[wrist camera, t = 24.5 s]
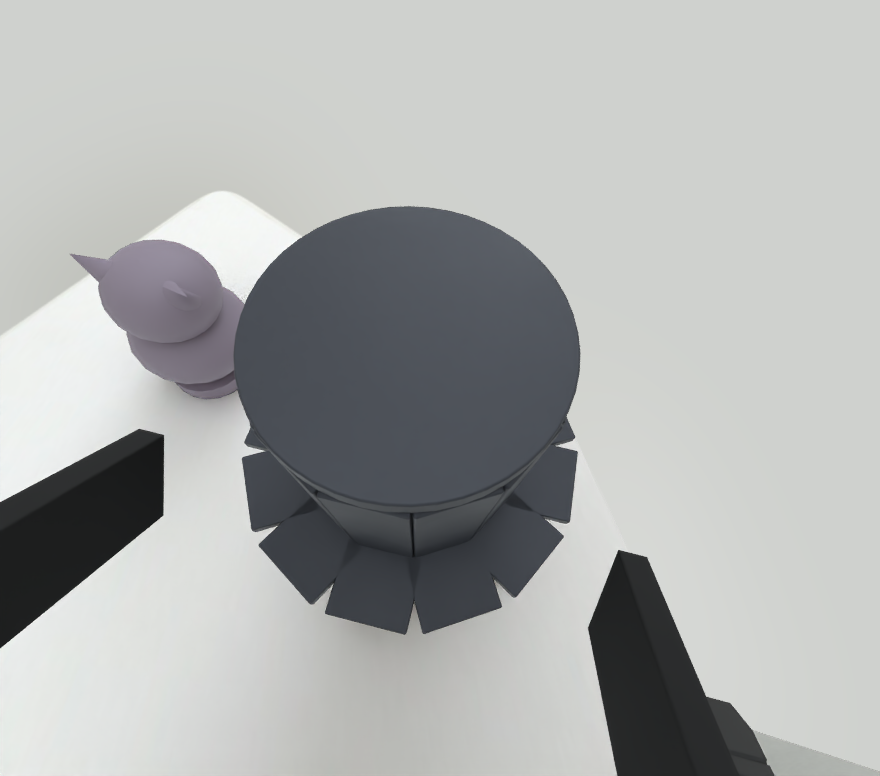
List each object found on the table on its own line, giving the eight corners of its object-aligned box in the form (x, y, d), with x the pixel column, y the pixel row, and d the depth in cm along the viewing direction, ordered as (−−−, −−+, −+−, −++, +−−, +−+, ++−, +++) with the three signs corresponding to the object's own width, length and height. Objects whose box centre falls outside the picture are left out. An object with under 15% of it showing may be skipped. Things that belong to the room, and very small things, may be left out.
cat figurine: (288, 339, 39) (240, 233, 29) (239, 422, 36) (164, 338, 25) (196, 308, 40) (116, 195, 30) (141, 386, 37) (27, 290, 26)
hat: (626, 564, 20) (802, 523, 11) (276, 683, 18) (125, 759, 8) (506, 290, 26) (556, 113, 17) (230, 353, 23) (111, 187, 14)
